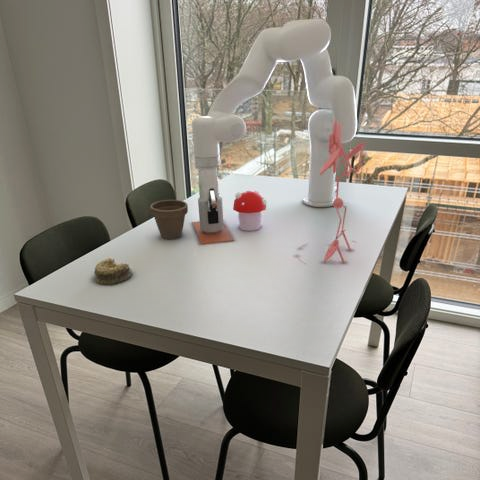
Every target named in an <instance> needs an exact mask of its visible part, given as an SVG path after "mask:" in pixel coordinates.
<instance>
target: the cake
mask: <svg viewBox="0 0 480 480" xmlns="http://www.w3.org/2000/svg"><path fill="white" fill-rule="evenodd" d="M93 274H94V282H95V283H97V284H99V285H116V284H118V283H121V282H124V281H126V280H127V279H129V278H130V277H132V275H133V270H132V269H131V268H130V266H129V264H128V263H126V262H124V263H123V262H121V263H119V264H117V263H116V262H115V258H110V257H109V258H106V259H102V260H101V261H100V262H97V264H96V265H95V267H94V271H93Z"/></svg>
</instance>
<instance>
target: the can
mask: <svg viewBox="0 0 480 480" xmlns="http://www.w3.org/2000/svg"><path fill="white" fill-rule="evenodd" d="M209 194H210V192H209ZM216 199H217V198H216ZM208 200H209V201H211V199H208ZM210 204H211V203H210ZM197 205H198V218H199V222H200V229H201V230H202V231H203V232H204V233H207V234H214V233H218V232H220V231H221V230H222V229H223V228H224V226H223V223H224V213H223V212H224V210H223V207H224V206H223V197H222V196H221V195H220V193H219V200H218V201H217V209H218V220H219V223H216V224H209V223H208V213H207V211H208V203H207V202H205V203H203V202H202V199H201V195H199V197H198V199H197Z"/></svg>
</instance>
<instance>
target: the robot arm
mask: <svg viewBox="0 0 480 480" xmlns="http://www.w3.org/2000/svg"><path fill="white" fill-rule="evenodd" d="M331 38H332V30H331V27H330V25H329V23H328V22H327V21H326V20H325V19H322V18H309V19H295V20H294V19H293V20H290V21H288V22H286V23H284V24H283V25H282V26H279V27H277V26H276V27H268V28H264V29H263V30H261V31H260V33H259V34H258V35H257V37H256V39H255V41H254V43H252V46H251V48H250V50H249V52H248V55H247V56H246V58H245V59H244V62H243V64H242V66H241V68H240V70H239V72H238V73H237V74H236V76H235V77H233V79H231V81H229V82H228V83H227V85H226V86H225V87H224V88H223V89H222V90H221V91H220V92H219V93H218V94H217V96H216V97H215V99H214V100H213V102H212V104H211V106H210V108H209V110H208V113H207V115H206V116H205V115H204V116H197V117H194V118H193V120H192V122H191V128H192V129H191V131H192V143H193V155H194V167H195V169H196V170H198V171H197V172H198V196H200V195H201V199H202V202H203V203H205V202H207V203H208V211H207V213H208V223H209V224H216V223H219V220H218V209H217V201H218V200H219V196H220V195H219V194H220V192H219V177H218V169H219V168H221V153H220V152H221V151H220V143H236V142H238V141H241V139H242V138H244V136H245V134H246V131H247V124H246V122H245V120H244V119H243V117H241V116H239V115H238V114H234V112H235V111H236V110H237V109H238V107H239V106H240V105H242V104H243V103H245V102H246V101H248V100H250V99H252V98H254V97H256V96H257V95H260V94H261V93H262V92H263V91H264V90H265V87H266V85H267V83H268V82H269V80H270V78H271V76H272V74H273V72H274V70H275V69H276V66H277V65H278V64H279V63H282V62H283V63H289V62H295V61H300V63H301V65H302V69H303V73H304V80H305V86H306V92H307V98H308V101H309V104H310V105H311V106H313V107H316V108H321V109H318V110H316V111H314V112H313V113H312V114H311V115H310V117H309V119H308V125H307V128H308V137H309V162H308V163H309V165H308V166H309V167H308V186H307V188H308V189H307V190H308V191H307V196H305V197H304V198H303V203H304V204H305V205H306V206H309V207H314V208H329V207H334V206H333V201H334V200H335V199H336V196H335V193H336V189H337V186H336V176H337V175H336V174H337V171H336V172H335V173H333V166H332V167H331V168H330V169H329V168H328V169H327V170H326V171H325V172H324V173H323V174H322V175H320V172H321V169H322V167H323V166H324V164H325V162H326V161H327V160H328V158H329V157H330V153H329V148H328V145H329V144H328V143H329V137H330V134H332V133H333V126H334V121H335V120H337V126H338V125H339V124H340V123H341V137H340V139H341V141H342V144H346V143H349V142H351V141H352V140H353V138H354V137H355V136H356V133H357V129H358V115H357V102H356V93H355V87H354V84H353V83H352V81H351V80H350V79H349V78H348V77H346V76H343V75H335V74H333V70H332V64H331V57H330V54H329V51H328V46H329V45H330V42H331ZM338 191H339V188H338ZM209 192H210V194H209ZM216 198H217V199H216ZM208 199H211V201H209V200H208ZM210 203H211V204H210Z"/></svg>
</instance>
